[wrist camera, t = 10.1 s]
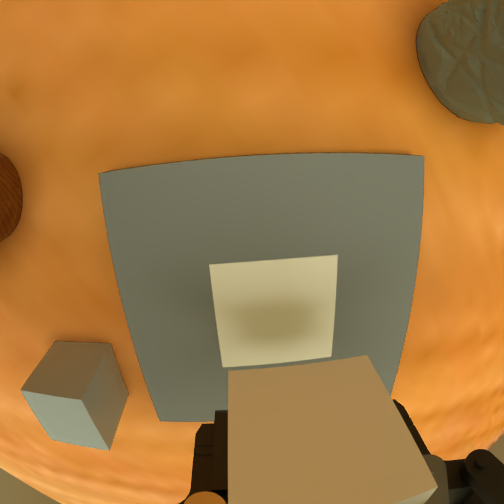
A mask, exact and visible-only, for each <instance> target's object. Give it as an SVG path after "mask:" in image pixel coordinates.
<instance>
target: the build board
mask: <svg viewBox="0 0 504 504" xmlns="http://www.w3.org/2000/svg"><path fill="white" fill-rule="evenodd" d="M99 181H100V189H101V197H102V204H103V211H104V217H105V223H106V229H107V235H108V240H109V246H110V251H111V256H112V261H113V266H114V270H115V275H116V279H117V284H118V288H119V292H120V296H121V301H122V305H123V308H124V312H125V316H126V320H127V324H128V327H129V331H130V334H131V338H132V341H133V345H134V348H135V351H136V355H137V358H138V361H139V364H140V367H141V370H142V373H143V376H144V379H145V382H146V385H147V388H148V391H149V394H150V396H151V399H152V402H153V405H154V407H155V410H156V413H157V415H158V418H159V420H160V421H170V422H208V421H214V419H215V410H228V371H232V370H248V369H261V368H273V367H283V366H293V365H302V364H310V363H318V362H326V361H333V360H340V359H346V358H352V357H359V356H364V355H367V356H368V358H369V360H370V361H371V363H372V365H373V366H374V368H375V370H376V372H377V373H378V375H379V377H380V379H381V380H382V382H383V384H384V386H385V388H386V389H387V391H388V393H389V395H390V396H391V392H392V389H393V385H394V382H395V378H396V374H397V370H398V366H399V362H400V358H401V354H402V350H403V345H404V341H405V336H406V332H407V327H408V322H409V317H410V311H411V306H412V300H413V294H414V287H415V281H416V274H417V266H418V258H419V249H420V239H421V228H422V214H423V196H424V156H419V155H408V154H387V153H285V154H263V155H246V156H231V157H219V158H207V159H197V160H187V161H178V162H170V163H162V164H154V165H146V166H139V167H132V168H126V169H119V170H113V171H108V172H103V173H99Z"/></svg>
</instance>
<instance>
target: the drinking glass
mask: <svg viewBox="0 0 504 504" xmlns="http://www.w3.org/2000/svg"><path fill="white" fill-rule="evenodd" d="M416 46H417V55H418V60H419V63H420V67H421V69H422V72H423V74H424V77H425V79H426V81H427V83H428V85H429V86H430V88H431V89H432V91H433V93H434V94H435V95H436V97H437V98H438V99H439V101H440V102H441V103H442V104H443V105H444V106H445V107H446V108H447V109H449V110H450V111H451V112H452V113H454V114H456V115H457V116H458V117H459V118H463V119H465V120H468V121H471V122H479V123H488V124H492V123H495V122H498V123H499V124H501V125H504V0H449V1H448V3H443V4H441V5H440V6H439V7H437V8H436V9H435V10H433V11H432V12H431V13H429V14H428V15H427V16H426V17H425V18H424V20H423V21H422V23H421V24H420V26H419V29H418V32H417V39H416Z"/></svg>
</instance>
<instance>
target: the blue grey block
mask: <svg viewBox="0 0 504 504" xmlns="http://www.w3.org/2000/svg"><path fill="white" fill-rule="evenodd" d="M21 392H22V394H23V396H24V397H25V399H26V401H27V402H28V404H29V406H30V407H31V409H32V411H33V412H34V414H35V416H36V417H37V419H38V420H39V422H40V423H41V425H42V426H43V428H44V430H45V431H46V432H47V434H48V435H49V437H50V438H51V440H55V441H60V442H64V443H69V444H74V445H79V446H85V447H90V448H96V449H103V450H109V451H110V448H111V445H112V442H113V439H114V436H115V433H116V430H117V427H118V424H119V421H120V418H121V415H122V412H123V409H124V406H125V403H126V400H127V397H128V395H129V393H128V391H127V388H126V385H125V383H124V380H123V377H122V375H121V372H120V369H119V366H118V363H117V360H116V358H115V355H114V352H113V349H112V346H111V343H87V342H66V341H55V342H54V344H53V345H52V346H51V348H50V349H49V350H48V352H47V353H46V354H45V356H44V357H43V359H42V360H41V361H40V363H39V364H38V365H37V367H36V368H35V370H34V371H33V372H32V374H31V375H30V377H29V378H28V379H27V381H26V382H25V384H24V385H23V387H22V388H21Z"/></svg>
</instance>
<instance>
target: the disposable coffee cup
mask: <svg viewBox="0 0 504 504" xmlns="http://www.w3.org/2000/svg"><path fill="white" fill-rule="evenodd" d="M21 209H22V190H21V185H20V180H19V177H18V174H17V171H16V170H15V168H14V166H13V164H12V163H11V162H10V161H9V159H8V158H7V157H5V156H4V155H2V154H0V242H1V241H2V240H4V239H5V238H6V237H8V236H9V235H10V234H11V233H12V232H13V230H14V229H15V228H16V225H17V223H18V221H19V218H20V214H21Z"/></svg>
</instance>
